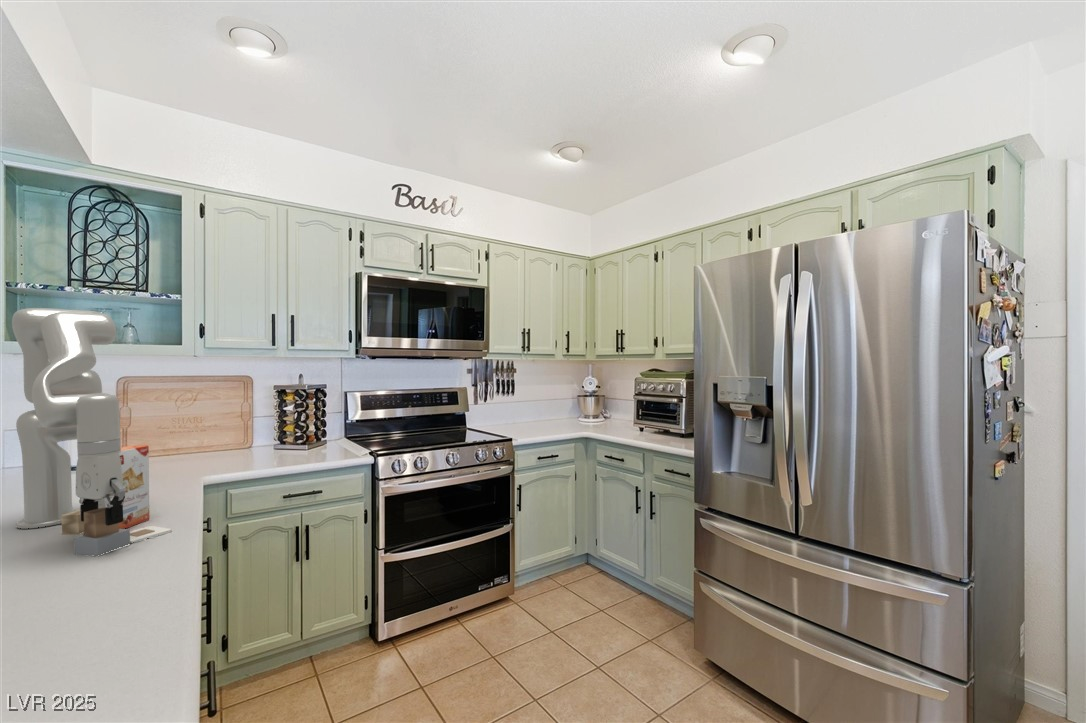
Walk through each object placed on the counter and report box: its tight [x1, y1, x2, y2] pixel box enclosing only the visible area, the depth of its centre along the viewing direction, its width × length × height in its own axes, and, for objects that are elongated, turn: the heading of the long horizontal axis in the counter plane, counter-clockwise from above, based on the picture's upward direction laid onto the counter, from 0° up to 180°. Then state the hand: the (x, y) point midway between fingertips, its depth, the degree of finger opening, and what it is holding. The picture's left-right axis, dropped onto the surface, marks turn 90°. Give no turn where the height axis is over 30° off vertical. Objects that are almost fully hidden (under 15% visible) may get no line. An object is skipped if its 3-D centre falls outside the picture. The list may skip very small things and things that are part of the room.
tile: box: [130, 525, 173, 544], centre depth 125 cm, size 9×9×1 cm
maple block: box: [61, 509, 84, 535], centre depth 130 cm, size 4×4×5 cm
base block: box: [73, 528, 131, 557], centre depth 116 cm, size 7×7×4 cm
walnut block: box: [84, 507, 119, 538], centre depth 116 cm, size 4×4×6 cm
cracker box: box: [94, 444, 151, 529], centre depth 132 cm, size 14×6×21 cm, turn 179°
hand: (102, 521), depth 116 cm, fingers open, 9 cm apart
